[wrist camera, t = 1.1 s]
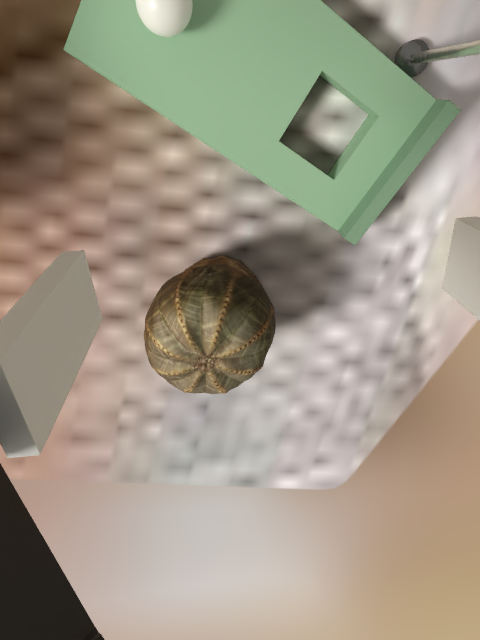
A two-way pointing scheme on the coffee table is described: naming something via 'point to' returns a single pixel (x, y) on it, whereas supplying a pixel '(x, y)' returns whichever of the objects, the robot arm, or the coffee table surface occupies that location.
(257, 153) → the mat
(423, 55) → the flag pin
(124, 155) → the coffee table surface
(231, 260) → the ribbed round cactus
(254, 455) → the coffee table surface
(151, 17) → the ball
